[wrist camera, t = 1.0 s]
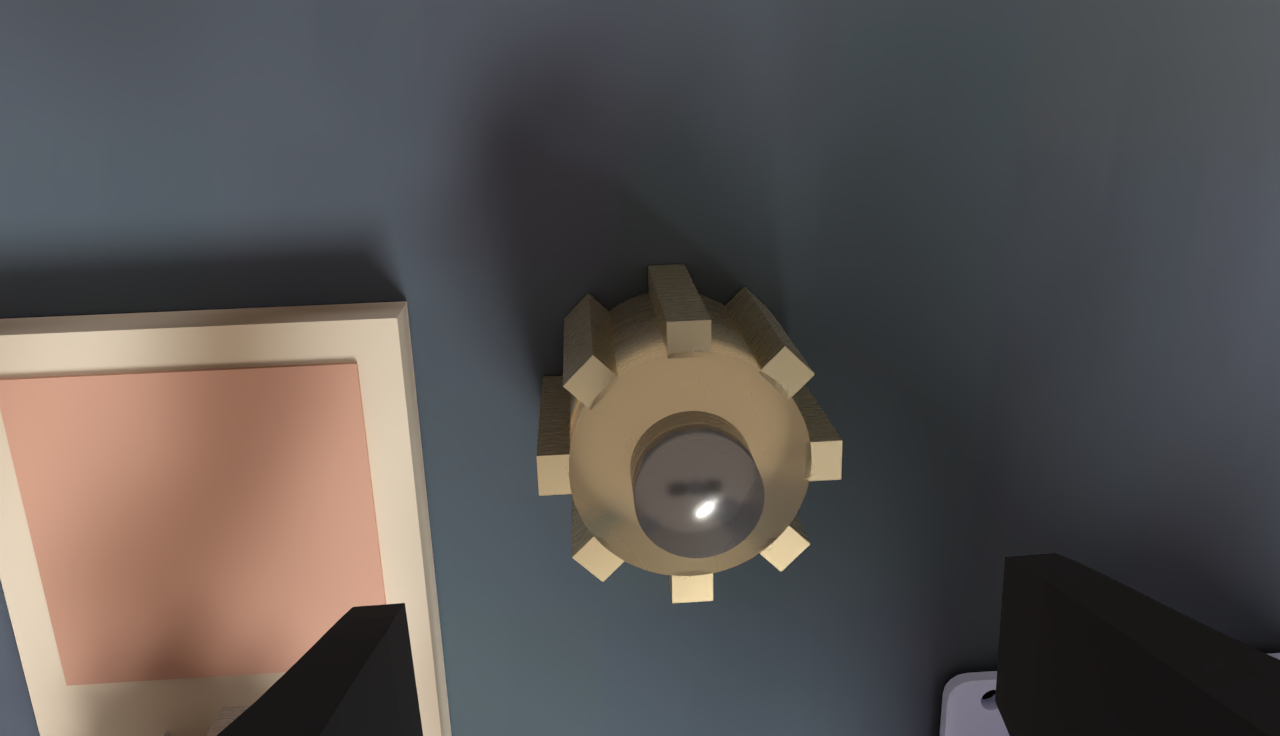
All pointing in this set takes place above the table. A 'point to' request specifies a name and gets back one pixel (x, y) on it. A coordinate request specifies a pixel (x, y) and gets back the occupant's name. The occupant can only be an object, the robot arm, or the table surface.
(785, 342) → the planet gear
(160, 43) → the table surface
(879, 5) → the table surface
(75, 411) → the plate
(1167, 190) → the table surface
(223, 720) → the sun gear
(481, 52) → the table surface
